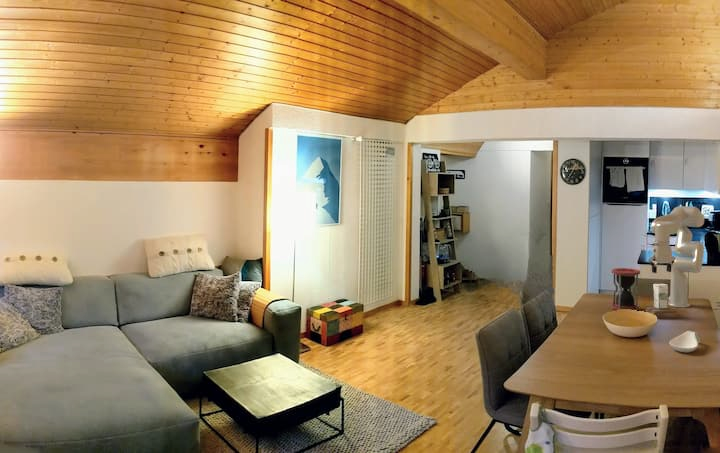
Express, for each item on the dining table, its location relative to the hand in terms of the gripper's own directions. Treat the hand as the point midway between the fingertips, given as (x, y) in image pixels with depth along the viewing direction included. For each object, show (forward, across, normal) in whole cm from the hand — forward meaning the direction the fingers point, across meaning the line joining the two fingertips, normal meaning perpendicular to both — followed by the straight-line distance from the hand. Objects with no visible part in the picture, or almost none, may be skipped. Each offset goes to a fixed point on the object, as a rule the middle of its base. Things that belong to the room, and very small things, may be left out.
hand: (661, 272), depth 315 cm
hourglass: (+27, -10, +20) cm, 35 cm away
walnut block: (+27, -1, 0) cm, 27 cm away
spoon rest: (+26, -29, -54) cm, 67 cm away
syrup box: (+22, 0, 0) cm, 22 cm away
